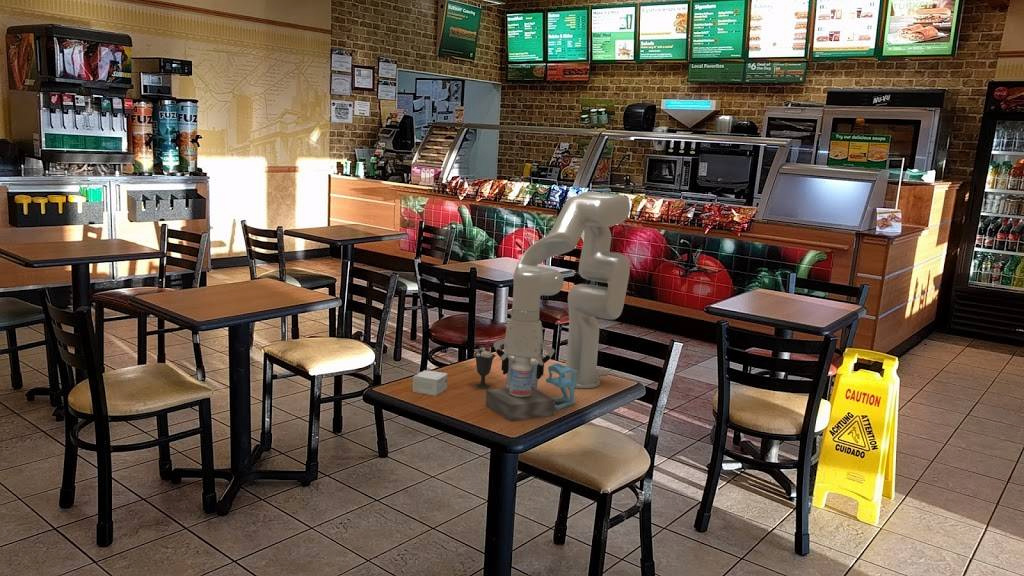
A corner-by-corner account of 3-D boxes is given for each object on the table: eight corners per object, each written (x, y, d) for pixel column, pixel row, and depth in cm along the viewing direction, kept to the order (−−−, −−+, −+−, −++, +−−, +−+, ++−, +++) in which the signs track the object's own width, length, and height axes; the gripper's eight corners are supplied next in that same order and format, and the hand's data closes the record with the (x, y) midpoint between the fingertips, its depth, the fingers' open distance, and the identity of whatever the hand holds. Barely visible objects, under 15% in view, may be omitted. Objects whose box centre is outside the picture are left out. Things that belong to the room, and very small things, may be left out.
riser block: (528, 401, 228) (529, 385, 227) (553, 417, 216) (555, 399, 215) (485, 407, 221) (486, 390, 220) (509, 423, 209) (510, 405, 208)
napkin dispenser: (520, 386, 241) (522, 353, 239) (536, 395, 232) (539, 361, 231) (505, 387, 238) (507, 354, 237) (521, 397, 230) (523, 363, 228)
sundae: (491, 391, 234) (493, 342, 232) (469, 388, 235) (472, 340, 233) (495, 385, 240) (498, 337, 238) (474, 382, 242) (477, 335, 239)
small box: (436, 396, 226) (436, 379, 226) (411, 392, 229) (412, 375, 228) (447, 389, 234) (448, 373, 233) (423, 385, 236) (424, 369, 235)
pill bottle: (512, 398, 214) (515, 358, 212) (506, 391, 219) (509, 352, 218) (533, 397, 215) (536, 358, 214) (527, 391, 221) (529, 352, 219)
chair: (579, 406, 225) (582, 365, 223) (556, 409, 220) (559, 368, 218) (563, 398, 231) (566, 359, 229) (540, 402, 227) (543, 362, 225)
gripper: (491, 314, 212) (488, 375, 215) (553, 321, 208) (549, 383, 211) (499, 309, 219) (496, 368, 222) (559, 316, 215) (555, 376, 218)
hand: (522, 375), depth 217 cm, fingers open, 9 cm apart
